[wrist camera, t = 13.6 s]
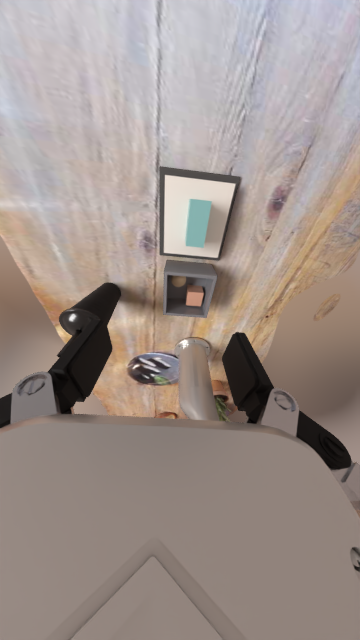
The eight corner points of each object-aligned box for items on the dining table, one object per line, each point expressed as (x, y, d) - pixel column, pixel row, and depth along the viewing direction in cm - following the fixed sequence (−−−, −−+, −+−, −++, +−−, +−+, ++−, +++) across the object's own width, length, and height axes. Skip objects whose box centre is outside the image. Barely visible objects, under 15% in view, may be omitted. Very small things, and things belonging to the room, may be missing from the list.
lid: (215, 255, 30) (222, 265, 25) (164, 250, 30) (161, 259, 25) (232, 185, 23) (246, 179, 18) (165, 176, 23) (161, 168, 18)
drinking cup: (118, 274, 33) (64, 334, 18) (131, 301, 38) (97, 367, 23) (88, 279, 34) (13, 342, 19) (105, 305, 39) (55, 372, 23)
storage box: (202, 301, 38) (206, 317, 33) (165, 298, 38) (163, 314, 32) (211, 263, 32) (217, 276, 26) (166, 259, 31) (164, 271, 26)
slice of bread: (156, 421, 104) (155, 427, 101) (148, 413, 93) (147, 419, 90) (180, 420, 102) (180, 426, 99) (174, 411, 91) (174, 417, 88)
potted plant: (226, 377, 64) (246, 452, 44) (223, 387, 70) (239, 456, 50) (204, 378, 64) (214, 452, 45) (202, 388, 70) (211, 457, 51)
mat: (218, 259, 31) (219, 260, 31) (160, 254, 30) (159, 254, 30) (239, 177, 23) (240, 176, 23) (159, 166, 22) (159, 166, 22)
